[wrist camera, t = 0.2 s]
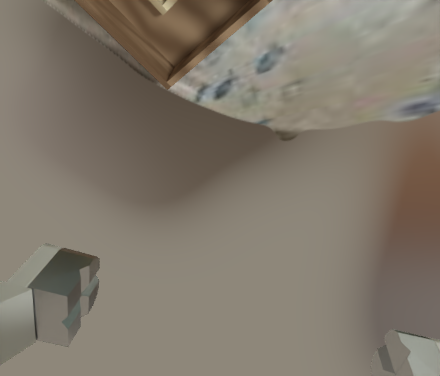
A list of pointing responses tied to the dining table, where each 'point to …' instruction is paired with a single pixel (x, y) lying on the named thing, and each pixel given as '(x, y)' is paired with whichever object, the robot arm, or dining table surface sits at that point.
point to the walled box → (171, 29)
